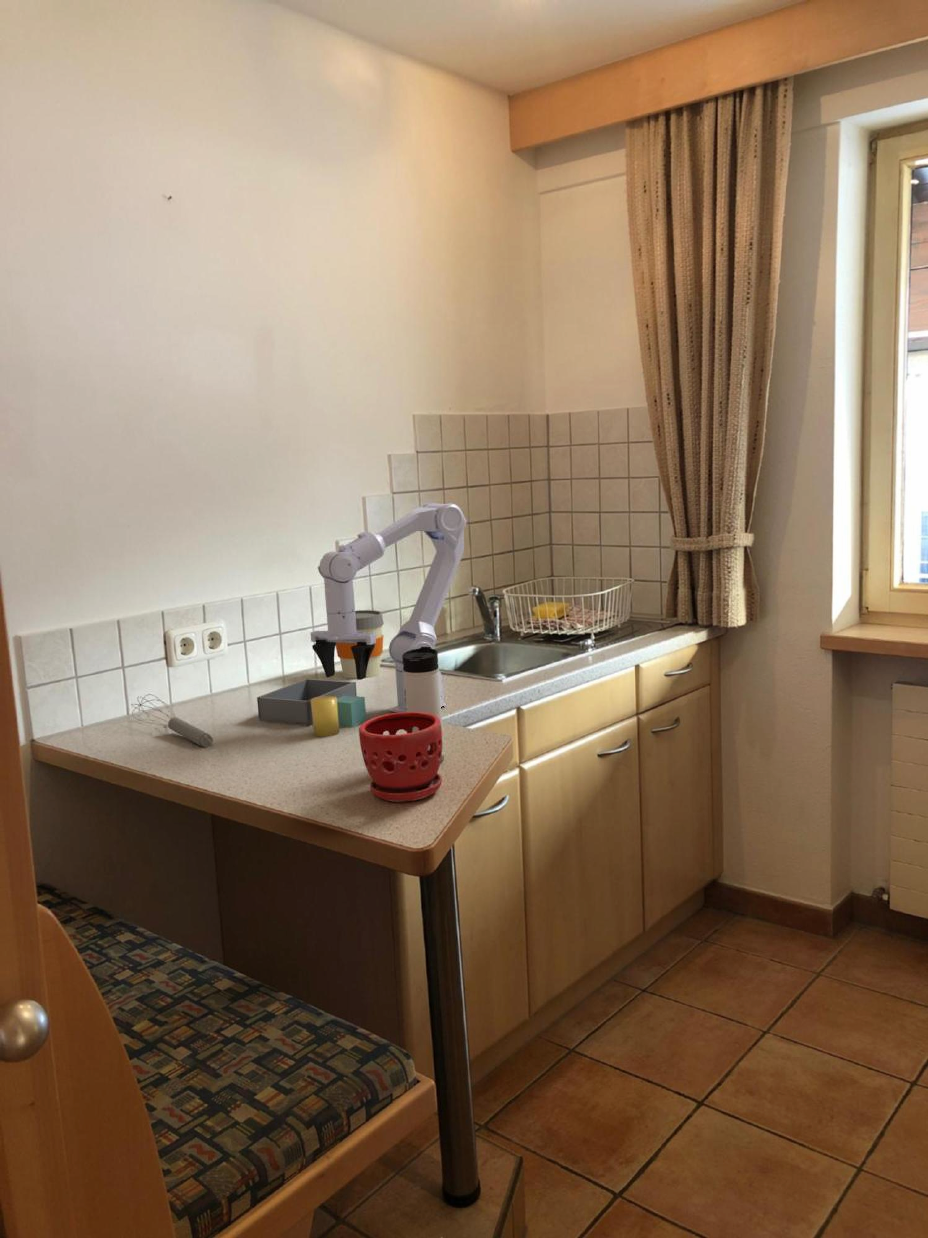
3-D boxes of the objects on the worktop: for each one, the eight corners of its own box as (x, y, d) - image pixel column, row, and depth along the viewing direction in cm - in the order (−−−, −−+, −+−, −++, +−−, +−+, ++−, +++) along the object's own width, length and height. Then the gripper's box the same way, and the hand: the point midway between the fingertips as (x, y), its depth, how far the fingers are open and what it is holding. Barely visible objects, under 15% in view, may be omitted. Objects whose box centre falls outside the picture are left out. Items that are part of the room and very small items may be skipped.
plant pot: (381, 778, 172) (376, 709, 170) (455, 782, 169) (451, 711, 166) (351, 805, 160) (345, 732, 158) (430, 810, 156) (425, 734, 154)
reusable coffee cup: (359, 666, 260) (355, 608, 258) (397, 671, 253) (393, 611, 250) (325, 677, 250) (320, 617, 248) (363, 682, 243) (359, 620, 240)
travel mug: (449, 755, 183) (443, 646, 179) (436, 767, 176) (430, 654, 173) (417, 754, 185) (410, 645, 181) (403, 765, 178) (396, 653, 175)
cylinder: (344, 730, 202) (341, 696, 201) (329, 737, 198) (326, 702, 197) (323, 728, 205) (320, 694, 203) (308, 735, 200) (305, 701, 199)
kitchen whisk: (199, 754, 193) (195, 722, 192) (127, 724, 218) (124, 695, 217) (228, 746, 197) (225, 715, 196) (155, 718, 222) (151, 689, 221)
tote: (308, 700, 228) (306, 678, 227) (357, 704, 222) (355, 682, 221) (259, 720, 213) (257, 697, 213) (310, 725, 207) (308, 701, 206)
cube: (366, 720, 209) (364, 697, 208) (352, 727, 205) (350, 703, 204) (346, 718, 212) (344, 695, 211) (332, 725, 207) (330, 701, 206)
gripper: (299, 613, 204) (305, 679, 207) (360, 616, 197) (365, 684, 200) (320, 607, 210) (325, 672, 213) (379, 609, 204) (384, 676, 206)
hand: (345, 677), depth 207 cm, fingers open, 7 cm apart
